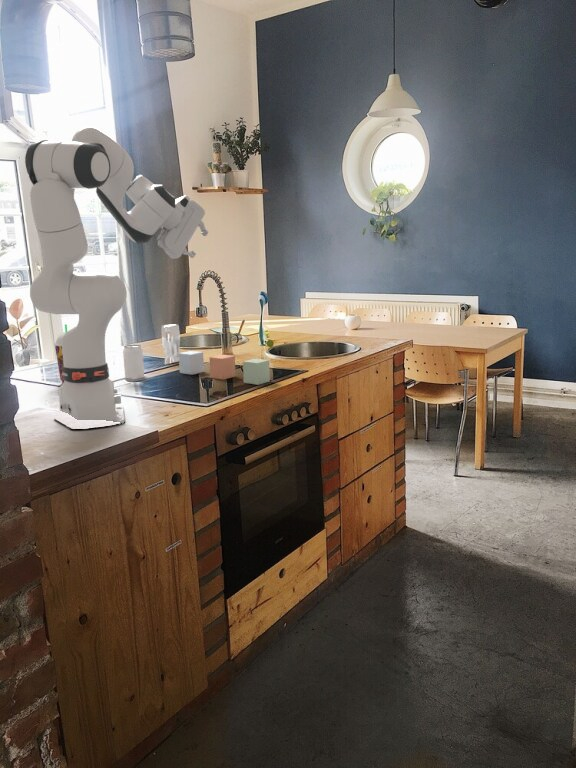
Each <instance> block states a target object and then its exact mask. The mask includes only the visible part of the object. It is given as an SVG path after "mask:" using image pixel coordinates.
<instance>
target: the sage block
mask: <svg viewBox="0 0 576 768" xmlns="http://www.w3.org/2000/svg"><path fill="white" fill-rule="evenodd" d="M242 368H243V370H242V371H243V383H244V384H250V385H251V384H252V385H262V384H266V383H269V382H271V381H270V380H271V379H270V378H271V375H270V360H269V359H263V358H262V359H261V358H252V359H251V358H250V359H248V360H244V361H242Z"/></svg>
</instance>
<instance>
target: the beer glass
mask: <svg viewBox="0 0 576 768" xmlns="http://www.w3.org/2000/svg"><path fill="white" fill-rule="evenodd" d="M161 342H162V347H163V351H164V365H169V364H172V363H173V364H174V363H179V353H180V345H181V332H180V326H179V324H175V323H174V324H162V325H161Z"/></svg>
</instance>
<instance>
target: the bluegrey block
mask: <svg viewBox="0 0 576 768" xmlns="http://www.w3.org/2000/svg"><path fill="white" fill-rule="evenodd" d="M204 361H205V360H204V352H203V351H196V350H195V351H194V350H189V351H188V350H187V351H183V352H179V362H178V366H179V367H178V368H179V373H180V374H185V375H191V376H192V375H197V374H199V373H200V374H201V373H204V372H205V365H204V363H205V362H204Z"/></svg>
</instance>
